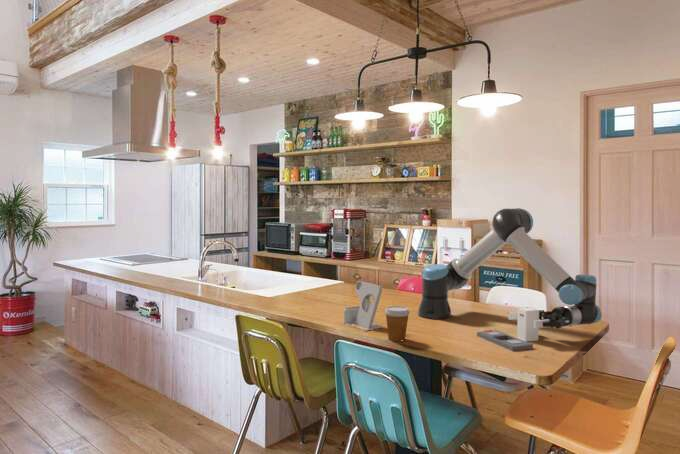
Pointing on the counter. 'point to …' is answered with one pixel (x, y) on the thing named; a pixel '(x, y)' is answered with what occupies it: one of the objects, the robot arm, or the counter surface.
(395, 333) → the disposable coffee cup
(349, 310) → the phone holder
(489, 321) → the counter surface
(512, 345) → the power strip
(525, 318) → the block
